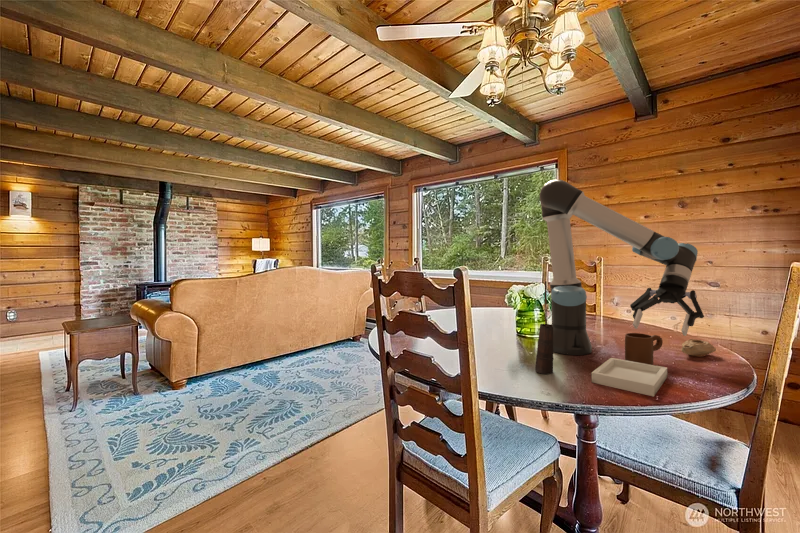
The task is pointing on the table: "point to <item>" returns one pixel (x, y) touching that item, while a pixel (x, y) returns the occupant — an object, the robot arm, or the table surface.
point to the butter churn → (545, 345)
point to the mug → (641, 347)
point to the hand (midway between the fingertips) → (658, 329)
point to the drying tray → (630, 376)
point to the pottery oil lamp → (697, 347)
